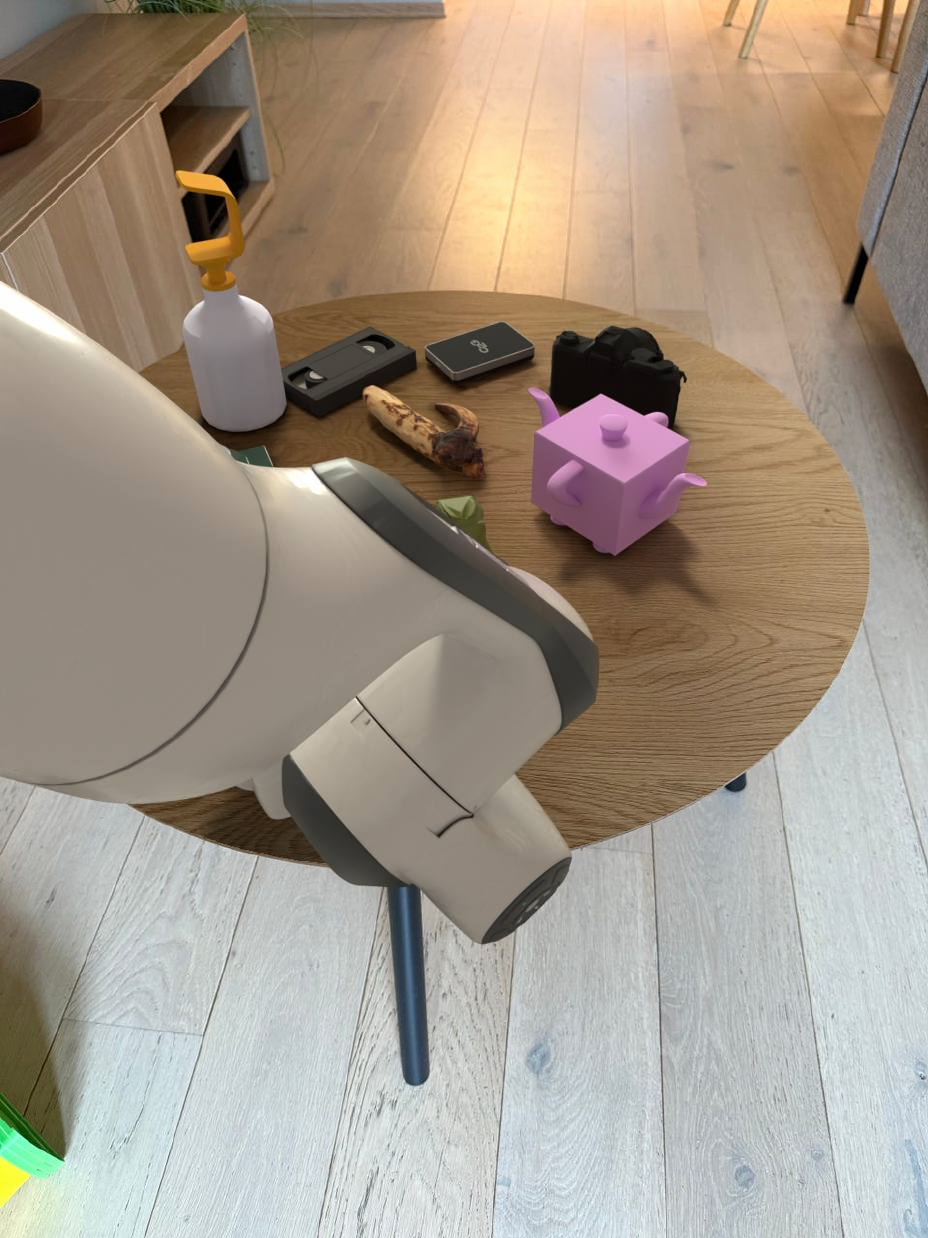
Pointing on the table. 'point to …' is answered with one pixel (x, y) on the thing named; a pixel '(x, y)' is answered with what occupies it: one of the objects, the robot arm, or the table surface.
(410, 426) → the bone fish hook
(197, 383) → the soap bottle
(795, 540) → the table surface
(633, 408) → the film camera
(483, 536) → the green figurine
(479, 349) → the external hard drive
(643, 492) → the teapot
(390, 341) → the vhs tape
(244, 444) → the table surface
